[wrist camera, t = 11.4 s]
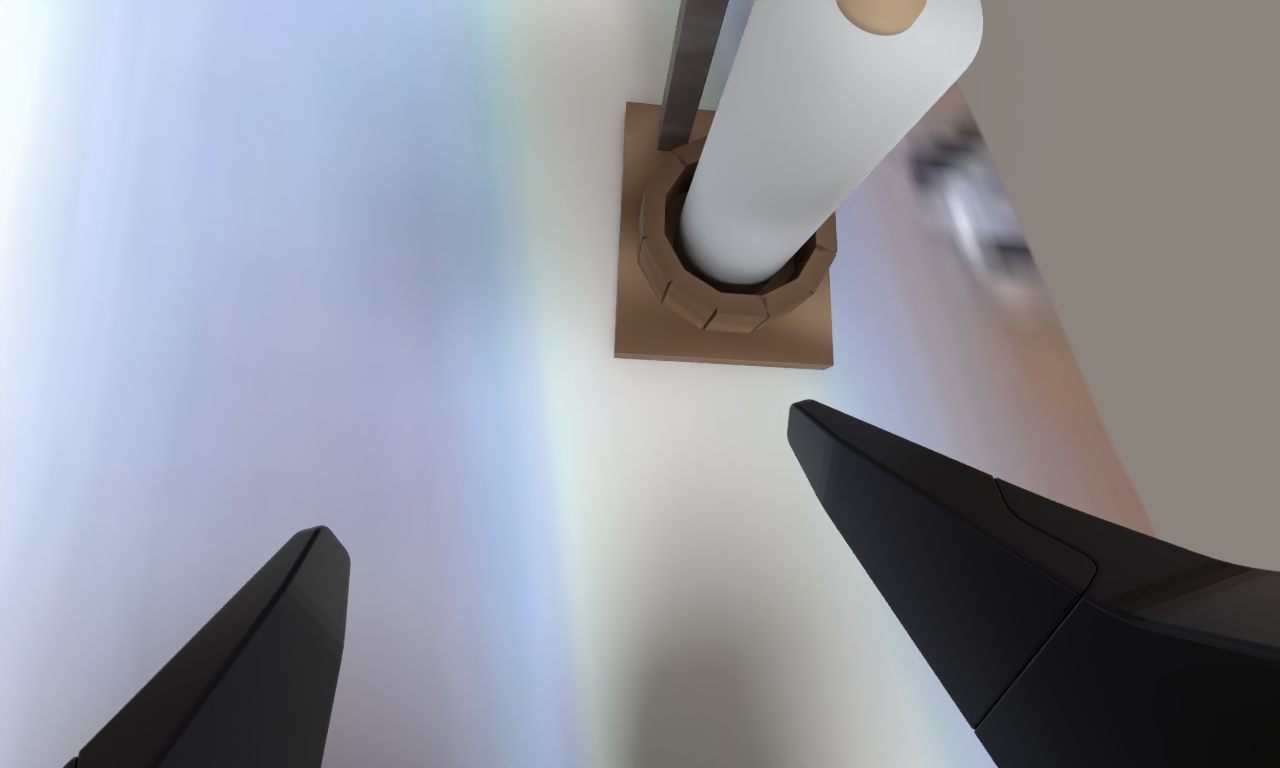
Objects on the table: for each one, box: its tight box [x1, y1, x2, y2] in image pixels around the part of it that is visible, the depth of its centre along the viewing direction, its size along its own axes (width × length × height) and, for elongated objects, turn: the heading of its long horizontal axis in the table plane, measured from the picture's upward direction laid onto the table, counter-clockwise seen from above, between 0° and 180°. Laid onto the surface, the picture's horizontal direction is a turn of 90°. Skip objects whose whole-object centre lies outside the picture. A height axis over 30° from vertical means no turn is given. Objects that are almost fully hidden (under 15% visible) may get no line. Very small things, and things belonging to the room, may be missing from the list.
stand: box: [614, 0, 837, 370], centre depth 18 cm, size 14×11×14 cm
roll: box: [673, 0, 983, 295], centre depth 18 cm, size 6×6×13 cm
